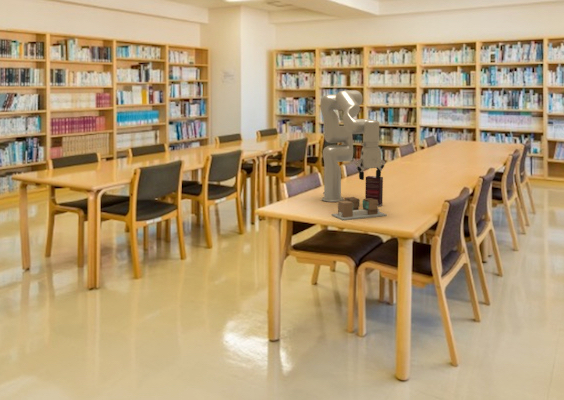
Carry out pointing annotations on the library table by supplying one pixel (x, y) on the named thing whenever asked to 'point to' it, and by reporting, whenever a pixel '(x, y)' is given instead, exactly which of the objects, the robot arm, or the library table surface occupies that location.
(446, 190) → the library table surface
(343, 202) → the rail board
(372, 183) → the supplement box
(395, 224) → the library table surface
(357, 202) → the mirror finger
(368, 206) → the block
